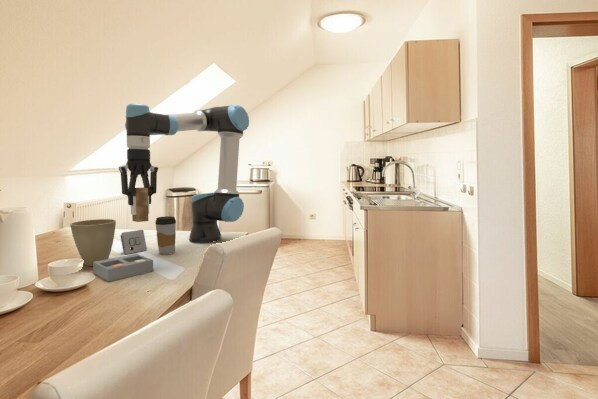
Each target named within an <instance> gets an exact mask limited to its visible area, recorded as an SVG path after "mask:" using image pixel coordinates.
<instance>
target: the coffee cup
mask: <svg viewBox="0 0 598 399" xmlns="http://www.w3.org/2000/svg"><path fill="white" fill-rule="evenodd" d="M154 223H155V230H156V240H157V242H156V243H157V249H158V252H159V254H160V255H171V254H174V253H175V251H176V250H175V249H176V234H177V232H176V225H177V220H176V217H175V216H170V215H169V216H167V215H166V216H159V217H156V218H155V222H154Z"/></svg>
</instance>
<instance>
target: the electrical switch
mask: <svg viewBox="0 0 598 399" xmlns="http://www.w3.org/2000/svg"><path fill="white" fill-rule="evenodd" d="M120 241H121V245H122V252H123V254H124V255H132V254H137V253H140V252H145V251H147V249H148V248H147V243H146V238H145V231H144V229H138V230H137V229H136V230H130V231H124V232H121V234H120Z"/></svg>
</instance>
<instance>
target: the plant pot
mask: <svg viewBox="0 0 598 399" xmlns="http://www.w3.org/2000/svg"><path fill="white" fill-rule="evenodd" d="M116 221H117V220H116V219H112V218H111V219H110V218H97V219H95V218H94V219H86V220H79V221H78V220H77V221H73V222H70V223H69V226H70V229H71V233H72V237H73V241H74V243H75V246H76V248H77V251H78V254H79V255H80V258H81V260H82V259H83V260H84V262H83V263H84V266H87V267H93V262H95V261H101V260H106V259H110V254H111V252H112V247H113V244H114V240H115V239H114V238H115V234H116V224H117V222H116ZM83 260H82V261H83Z"/></svg>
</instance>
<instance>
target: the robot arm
mask: <svg viewBox="0 0 598 399" xmlns="http://www.w3.org/2000/svg"><path fill="white" fill-rule="evenodd" d="M248 114H249V113H248V112H247V110H246V109H245V108H244V107H243V106H242V105H238V104H236V105H235V104H231V105H230V104H229V105H223V106H214V107H213V106H212V107H210V108H205V109H200V110H195V111H194V112H189V113H188V112H186V113H185V112H184V113H171V114H162V113H157V112H156V113H155V112H151V111H150V107H149V105H146V104H142V103H129V104H127V105H126V110H125V123H124V127H125V130H126V147H127V148H128V149H126V158H127V161H126V164H125V165H121V166H118V170H119V173H120V183H121V194H122V195H124V196H126V197H127V204H128V206H130V215H131V216H132V215H136V196H133V195H134V190H135V188H136V185H137V178H138V177H139V175H140V177H141V181H142V185H143V188H148V215H150V205H151V204H152V196H153V195H155V194H157V185H158V184H157V183H158V182H157V178H158V171H159V167H158V166H154V165H152V163H151V150H150V148H151V139H150V138H151V136H158V135H162V136H163V135H165V136H175V135H176V133H178V132H185V131H197V132H215V133H216V132H217V134H218V136H219V137H220V147H219V148H220V149H219V162H218V163H219V164H218V165H219V166H218V176H217V177H218V179H217V180H218V181H217V189H216V190H215V191H214V192H208V193H198V194H193V195H192V197H191V201H192V202H191V214H192V226H191V230H190V233H189V236H188V237H189V242H191V243H195V244H207V243H209V242H210V243H214V242H213V241H216V242H218V241H217V240H219V241H221V240H222V234H221V231H220V227H219V225H218V221H220V222H225V223H226V222H227V223H228V222H229V223H234V222H236V221H238V220H239V219H240V218H241V217H242V215H243V213H244V209H245V205H244V202H243V199H242V198H241V197H240V193H239V192H238V190H237V188H238V186H237V185H238V184H237V183H238V171H239V170H238V166H239V152H240V139H241V138H242V137H243V136H244V131H246V130H248V128H249V126H250V118H249V115H248ZM128 170H129V172H130V175H129V180H128ZM149 171H150V174H149V173H148V172H149ZM149 175H150V176H149ZM149 177H150V178H149ZM149 179H150V180H149ZM128 181H129V182H128ZM220 239H221V240H220Z"/></svg>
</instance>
